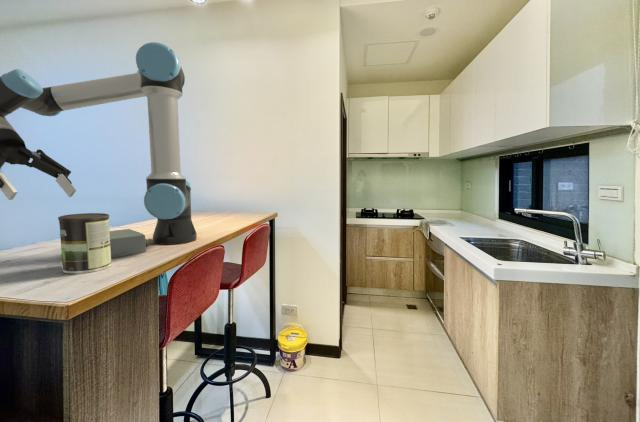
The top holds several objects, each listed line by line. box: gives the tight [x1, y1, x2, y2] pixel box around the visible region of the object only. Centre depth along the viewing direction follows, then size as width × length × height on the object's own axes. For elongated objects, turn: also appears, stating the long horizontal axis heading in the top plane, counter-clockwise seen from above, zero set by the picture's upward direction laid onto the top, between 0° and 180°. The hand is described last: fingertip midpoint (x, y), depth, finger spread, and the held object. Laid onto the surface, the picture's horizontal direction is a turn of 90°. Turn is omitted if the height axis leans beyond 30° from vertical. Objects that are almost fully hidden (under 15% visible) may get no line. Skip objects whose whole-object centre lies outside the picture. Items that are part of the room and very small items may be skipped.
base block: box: [109, 228, 147, 259], centre depth 91 cm, size 13×13×6 cm
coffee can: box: [57, 212, 113, 275], centre depth 75 cm, size 10×10×14 cm
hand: (45, 194), depth 76 cm, fingers open, 13 cm apart
